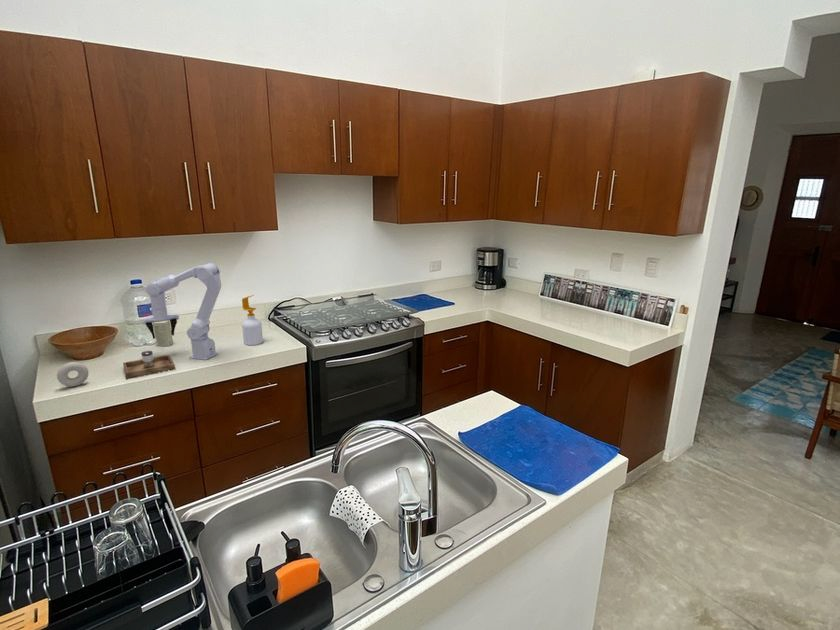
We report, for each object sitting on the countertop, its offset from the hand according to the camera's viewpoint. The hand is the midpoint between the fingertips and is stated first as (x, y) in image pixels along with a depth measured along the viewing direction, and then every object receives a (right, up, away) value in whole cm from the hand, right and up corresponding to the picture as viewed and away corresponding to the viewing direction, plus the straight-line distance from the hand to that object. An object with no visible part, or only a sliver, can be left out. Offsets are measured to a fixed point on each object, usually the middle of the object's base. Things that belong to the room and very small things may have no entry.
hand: (163, 336), depth 209 cm
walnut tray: (+1, -13, -13) cm, 18 cm away
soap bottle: (+34, -4, +21) cm, 40 cm away
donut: (-18, -18, -30) cm, 39 cm away
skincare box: (-9, -5, +17) cm, 19 cm away
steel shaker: (+1, -13, -13) cm, 18 cm away
